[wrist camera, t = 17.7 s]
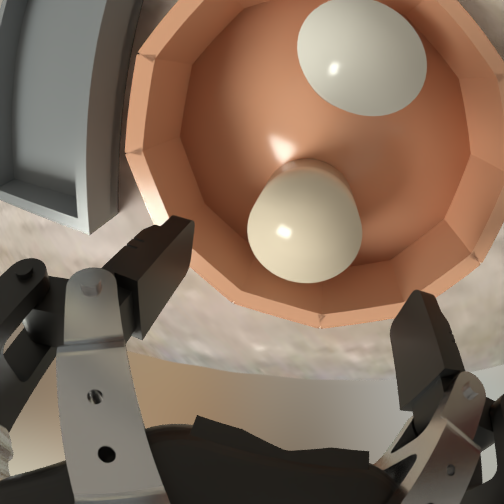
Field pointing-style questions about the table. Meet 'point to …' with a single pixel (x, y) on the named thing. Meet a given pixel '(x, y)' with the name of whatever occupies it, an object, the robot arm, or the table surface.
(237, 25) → the bowl
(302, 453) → the robot arm
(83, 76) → the tray
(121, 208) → the table surface
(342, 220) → the pebble
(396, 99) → the pebble
